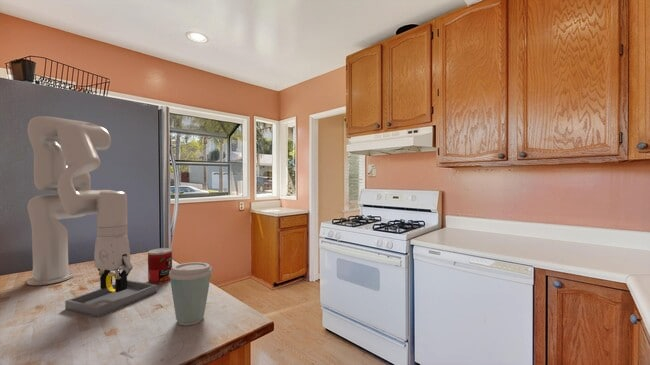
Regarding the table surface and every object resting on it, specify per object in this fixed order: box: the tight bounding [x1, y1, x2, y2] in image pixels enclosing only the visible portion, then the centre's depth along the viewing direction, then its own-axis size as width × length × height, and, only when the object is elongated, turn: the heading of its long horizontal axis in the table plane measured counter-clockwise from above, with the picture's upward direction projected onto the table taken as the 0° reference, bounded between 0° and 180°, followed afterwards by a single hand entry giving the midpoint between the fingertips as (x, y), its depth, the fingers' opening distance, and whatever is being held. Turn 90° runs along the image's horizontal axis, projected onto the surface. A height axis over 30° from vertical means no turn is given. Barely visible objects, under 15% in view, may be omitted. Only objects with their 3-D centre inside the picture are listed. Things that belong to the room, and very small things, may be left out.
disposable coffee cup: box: [169, 261, 213, 326], centre depth 77 cm, size 11×11×15 cm
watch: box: [106, 271, 117, 293], centre depth 89 cm, size 6×3×6 cm, turn 65°
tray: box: [64, 279, 158, 318], centre depth 90 cm, size 14×18×2 cm
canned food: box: [147, 247, 173, 284], centre depth 107 cm, size 8×8×11 cm
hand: (113, 288), depth 89 cm, fingers closed on watch, 6 cm apart
